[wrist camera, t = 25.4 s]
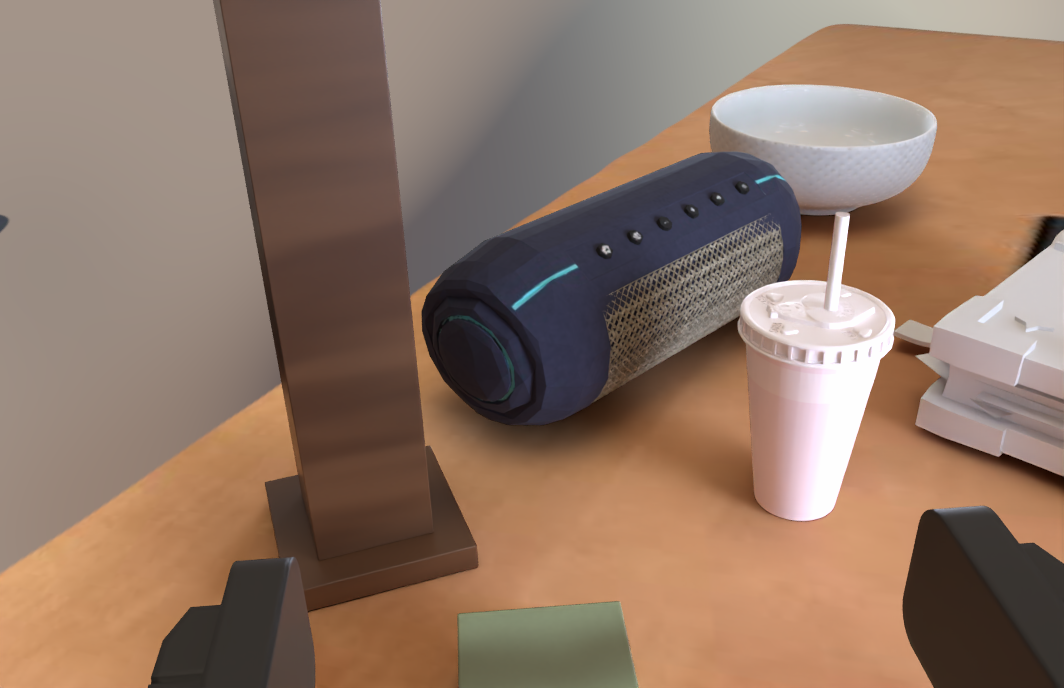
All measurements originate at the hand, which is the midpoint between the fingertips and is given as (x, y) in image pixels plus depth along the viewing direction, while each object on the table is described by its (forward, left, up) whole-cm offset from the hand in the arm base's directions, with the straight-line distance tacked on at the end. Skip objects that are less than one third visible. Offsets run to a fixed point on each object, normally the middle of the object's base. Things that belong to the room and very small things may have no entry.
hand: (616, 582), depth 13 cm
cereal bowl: (+68, -5, -20) cm, 71 cm away
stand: (+22, +14, -20) cm, 33 cm away
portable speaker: (+41, +6, -20) cm, 46 cm away
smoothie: (+29, -4, -20) cm, 36 cm away
